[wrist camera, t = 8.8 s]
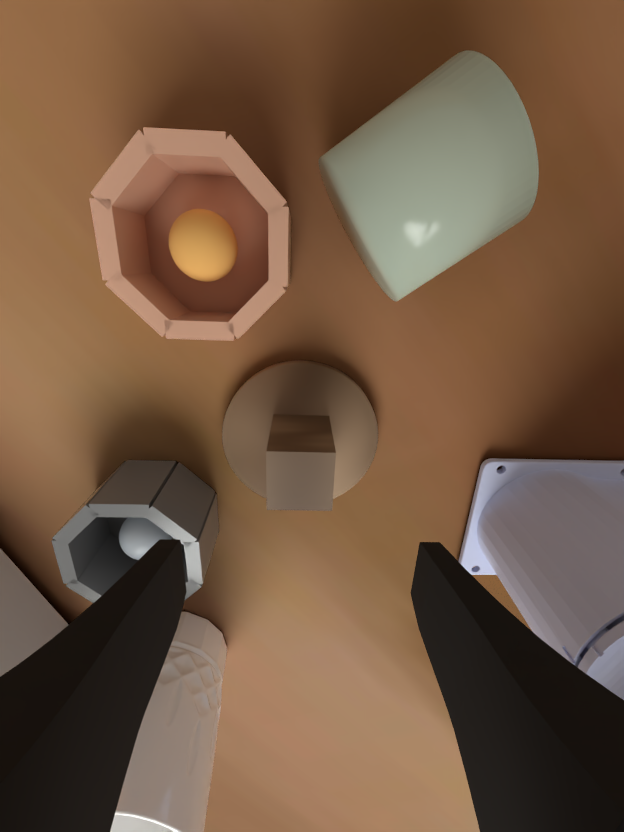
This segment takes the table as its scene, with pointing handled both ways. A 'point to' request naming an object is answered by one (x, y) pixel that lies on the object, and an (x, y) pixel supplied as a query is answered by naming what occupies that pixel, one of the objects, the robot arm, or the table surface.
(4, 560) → the grey white mechanical model
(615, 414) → the table surface
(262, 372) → the lid
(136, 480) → the gray octagonal cup
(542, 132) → the table surface
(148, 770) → the white cup
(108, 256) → the open cup
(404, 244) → the mint green cylinder
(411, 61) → the table surface
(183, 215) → the exposed orange ball
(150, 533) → the mug ball
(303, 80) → the table surface
